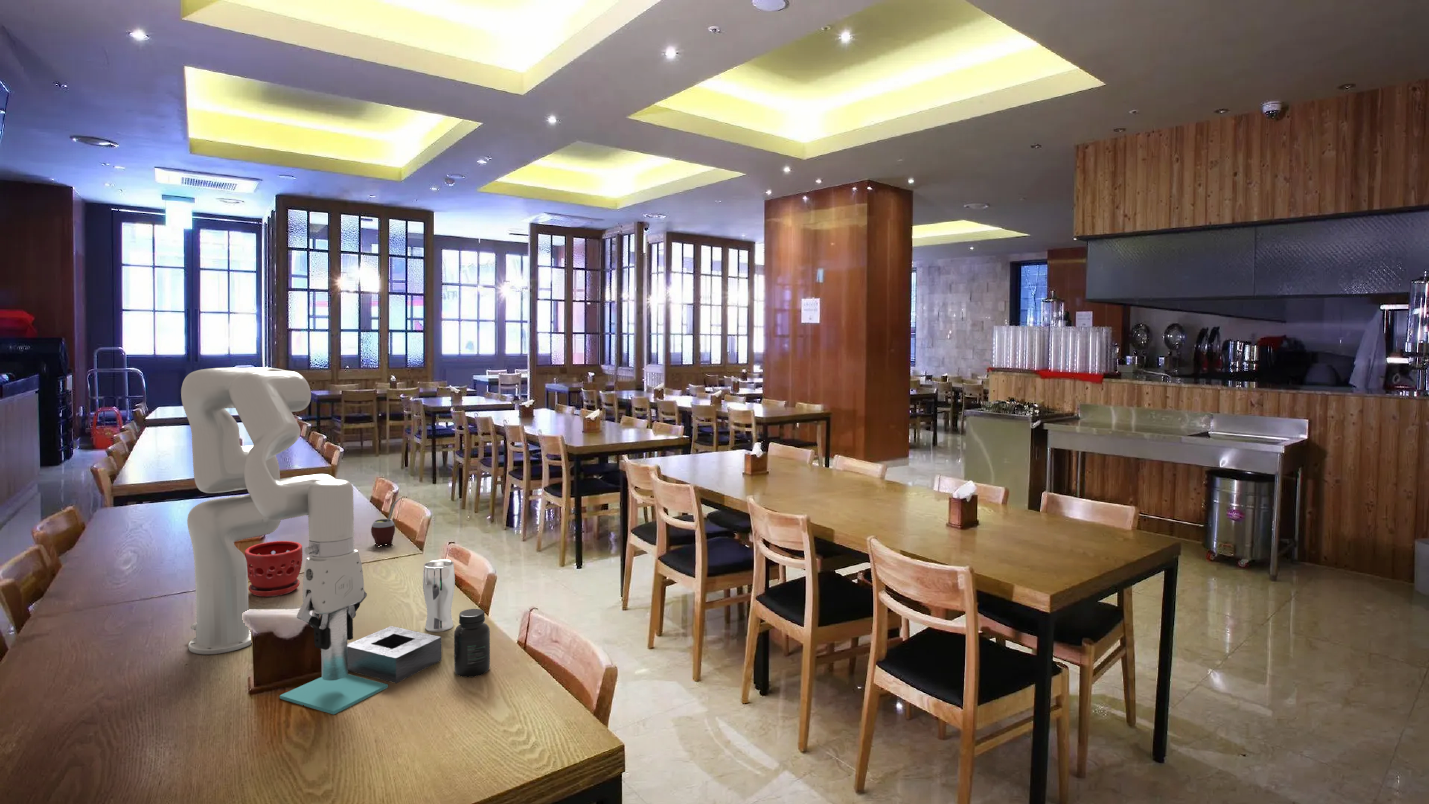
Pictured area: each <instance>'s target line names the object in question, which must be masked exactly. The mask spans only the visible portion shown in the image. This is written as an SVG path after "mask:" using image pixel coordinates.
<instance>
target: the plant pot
mask: <svg viewBox="0 0 1429 804" xmlns="http://www.w3.org/2000/svg"><path fill="white" fill-rule="evenodd" d="M272 552H274V553H272ZM244 556H245V558H246V560H247V571H248V582H250V585H248V592H250V593H251V595H254V596H258V597H266V598H267V597H268V598H270V597H278V596H283V595H287V594H289V593H291V592H294V591H295V590H296V589H298V588H299V586H300V583H301V582H300V579H298V577H299V575H300V572H301V569H302V564H303V545H302V544H301V543H300V542H297V541H290V540H274V541H267V542H261V543H257V544H254V545H251V546H249V547H247V548H246V549H245V550H244Z"/></svg>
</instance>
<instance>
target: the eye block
mask: <svg viewBox="0 0 1429 804" xmlns="http://www.w3.org/2000/svg"><path fill="white" fill-rule="evenodd" d="M347 645H348V672H351V673H355V674H360V675H363V676H367V677H371V678H374V679H378V680H381V681H386V682H389V683H394V684H398V683H400V682H402V681H404V680H406V679H408V678H410V677H412V676H413V675H416V674H417V673H419V672H422V671H423V670H425V669H427V668H429V667H431V666H432V667H433V666H434V665H436V664H439V661H440V662H442V657H443V656H442V654H443V653H442V636H439V635H433V634H430V633H424V632H420V631H415V630H410V629H408V628H407V629H406V628H402V627H398V626H393V625H390V626H387V627H385V628H383V629H380V630H378V631H376V632H373V633H371V634H368V635H365V636H364V637H361V638H359V639H356V640H353V641H352V642H349V643H347Z"/></svg>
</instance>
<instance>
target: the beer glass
mask: <svg viewBox="0 0 1429 804" xmlns="http://www.w3.org/2000/svg"><path fill="white" fill-rule="evenodd" d="M455 580H456V574H455V563H454V561H452V560H450V559H436V560H430V561H427V562H425V563H424V564H423V573H422V589H423V590H422V591H423V596H424V601H425V605H426V606H425V608H426V622H425V630H426V631H427V632H431V633H440V632H441V633H442V632H445V631H449V630H451V629H452V628H453V627H454V621H453V620H454V619H453V617H452V606H453V601H454V600H453V599H454V596H455V595H454V593H455V589H456V588H455V587H456V581H455Z"/></svg>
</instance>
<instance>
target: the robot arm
mask: <svg viewBox="0 0 1429 804" xmlns="http://www.w3.org/2000/svg"><path fill="white" fill-rule="evenodd" d="M180 394H181V396H180V398H181V404H182V407H183V410H184V413H185V415H186V418H187V420H188V423H189V426H190V430H191V433H190V434H191V448H192V450H191V451H192V453H191V454H192V465H193V466H192V467H193V478H194V483H195V486H196V487H197V489H198V490H199V491H200V492H203V493H205V494H217V493H218V494H219V493H227V492H233V491H242V490H243V491H244V490H247V492H248V494H243V495H238V496H235V495H234V496H226V497H221V498H215V499H211V500H210V499H209V500H206V501H202V502H200V503H198V504H196V505H195V506H193V507H192V508H191V510H190V511H189V513H188V515H187V519H186V521H187V529H188V533H189V537H190V541H191V546H192V553H193V562H194V563H193V564H194V566H193V567H194V583H195V585H194V586H195V610H196V611H195V612H196V614H195V615H196V616H195V617H196V622H194V623H192V624H191V625H190V629H191V630H192V631H195V637H194V638H192V639H191V640H190V641H189V642H188V644H187V646H188V647H187V648H188V651H189V652H191V653H192V654H198V655H216V654H223V653H230V652H234V651H237V650H241V649H244V648H246V647H249V646H251V645H252V644H251V632H250V630H249V629H250V628H249V629H248V627H247V626H245V623H243V620H242V613H243V612H245V611H247V610H249V608H250V607H249V579H248V571H247V560H246V558H245V553H243V552H242V551H241V550H240V549H239V548H238V547H236V545H235V542H239V541H242V540H249V539H252V538H258V537H262V536H266V535H270V534H272V533H275V531H277V529H279V527H280V524H281V521H283V520H289V519H294V518H299V517H305V516H307V517H308V518H307V519H308V522H307V523H308V526H307V527H308V546H307V547H305V548H304V549H303V551H304V554H305V555H307V556H309V557H306V561H305V566H304V571H303V581H302V604H301V606H300V608H299V610H298V612H297V615H296V619H298V620H300V621H303V622H305V623H306V624H308V625H309V626H310V627H311V628H313V642H314V648H316V649H320V650H321V649H324V650H327V649H329V648H330V633H329V628H327V627H326V625H327V619H328V613H331V612H334V611H337V610H339V609H342V608H345V607H347V641H351V640H353V639H354V622H353V621H354V620H353V619H354V618H355V617H356V616H357V611H358V609H359V607H360V606H361V604H362V603H363V601H364V600H365V599H366V598H367V596H368V593H367V592H366V591H365V582H364V581H365V580H364V572H363V571H364V570H363V565H362V560H361V556H360V552H359V550H358V549H355V523H354V522H355V519H354V518H355V517H354V516H355V514H354V513H355V512H354V488H353V484H352V483H351V482H350V481H349V480H346V479H337V478H336V477H334V476H332V475H330V474H328V473H316V474H308V475H299V476H291V477H283V478H281V475H280V474H281V472H280V465H279V461H278V460H279V459H278V457H277V455H279V454H281V453H282V452H284V451H286V450H288V449H289V448H290V447H292V446H293V445H294V444H295V443H296V442H297V441H298V440H299V438H300V435H301V431H302V430H301V427H300V425H299V423H298V421H297V419H296V418H295V416H294V414H293V413H294V412H301V411H303V410H305V409H306V408H307V407H308V406H309V405H310V402H311V400H312V399H311V398H312V393H311V387H310V385H309V382H308V381H307V380H306V378H305V377H304V376H303V375H302V374H300V373H299V372H297V371H292V370H287V369H286V370H285V369H281V368H275V367H213V368H204V369H203V368H202V369H198V370H194V371H192V372H190V373H188V374H187V375H186V376H185V378H184V379H183V381H182V385H181V389H180ZM227 409H235V410H236V412H237V414H238V416H239V418H240V420H241V423H242V425H243V426H244V428H245V430H246V432H247V435H248V436H249V438H250V440H251V442H252V444H249V445H241V443H240V428H239V427H240V426H239V425H238V423H237V421H236V419H235V418H234V417H233V416H232V414H231V413H230V412H229V411H228V410H227ZM311 611H312V614H311ZM320 615H321V616H320Z"/></svg>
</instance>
